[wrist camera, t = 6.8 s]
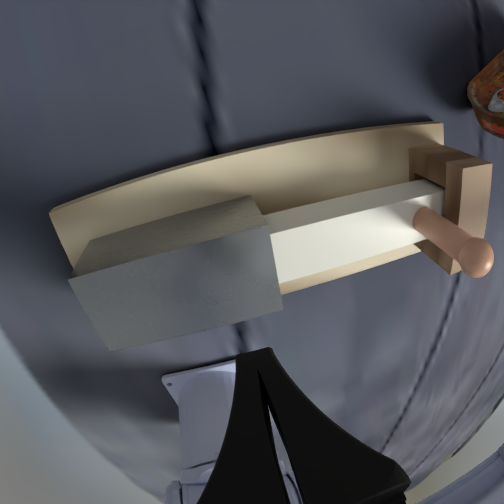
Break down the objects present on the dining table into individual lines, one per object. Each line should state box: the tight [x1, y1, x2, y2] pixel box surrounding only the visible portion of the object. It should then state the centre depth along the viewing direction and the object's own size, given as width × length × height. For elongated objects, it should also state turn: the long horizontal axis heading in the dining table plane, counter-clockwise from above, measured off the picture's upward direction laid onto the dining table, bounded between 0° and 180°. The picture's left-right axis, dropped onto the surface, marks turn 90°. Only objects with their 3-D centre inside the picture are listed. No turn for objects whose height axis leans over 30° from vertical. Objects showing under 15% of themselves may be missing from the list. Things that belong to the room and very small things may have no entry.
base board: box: [49, 121, 444, 295], centre depth 19 cm, size 10×26×1 cm, turn 101°
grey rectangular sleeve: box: [68, 195, 283, 351], centre depth 17 cm, size 5×10×4 cm, turn 101°
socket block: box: [409, 144, 492, 275], centre depth 17 cm, size 7×3×5 cm, turn 11°
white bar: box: [263, 178, 494, 284], centre depth 15 cm, size 3×16×8 cm, turn 101°
